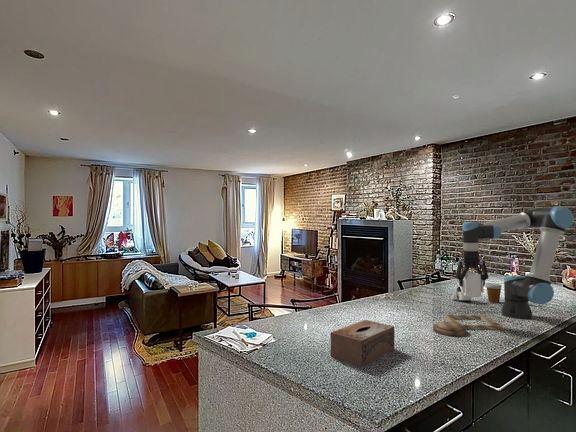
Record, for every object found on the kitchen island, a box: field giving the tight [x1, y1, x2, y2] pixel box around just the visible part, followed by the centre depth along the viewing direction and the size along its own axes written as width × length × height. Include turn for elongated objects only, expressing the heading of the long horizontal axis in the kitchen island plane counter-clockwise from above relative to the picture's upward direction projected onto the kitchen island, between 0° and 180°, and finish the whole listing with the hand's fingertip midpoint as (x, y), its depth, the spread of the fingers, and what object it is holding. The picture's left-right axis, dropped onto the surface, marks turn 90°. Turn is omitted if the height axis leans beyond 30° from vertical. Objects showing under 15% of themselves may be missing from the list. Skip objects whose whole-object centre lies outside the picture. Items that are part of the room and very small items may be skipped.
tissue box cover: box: [330, 319, 395, 367], centre depth 144 cm, size 26×14×10 cm, turn 135°
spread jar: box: [451, 283, 472, 303], centre depth 238 cm, size 12×11×12 cm
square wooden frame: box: [444, 314, 503, 331], centre depth 185 cm, size 20×20×2 cm
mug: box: [463, 271, 483, 298], centre depth 185 cm, size 12×8×12 cm
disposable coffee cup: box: [485, 282, 503, 304], centre depth 235 cm, size 10×10×12 cm
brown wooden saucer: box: [432, 321, 467, 337], centre depth 171 cm, size 15×15×3 cm
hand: (472, 292), depth 185 cm, fingers closed on mug, 9 cm apart
